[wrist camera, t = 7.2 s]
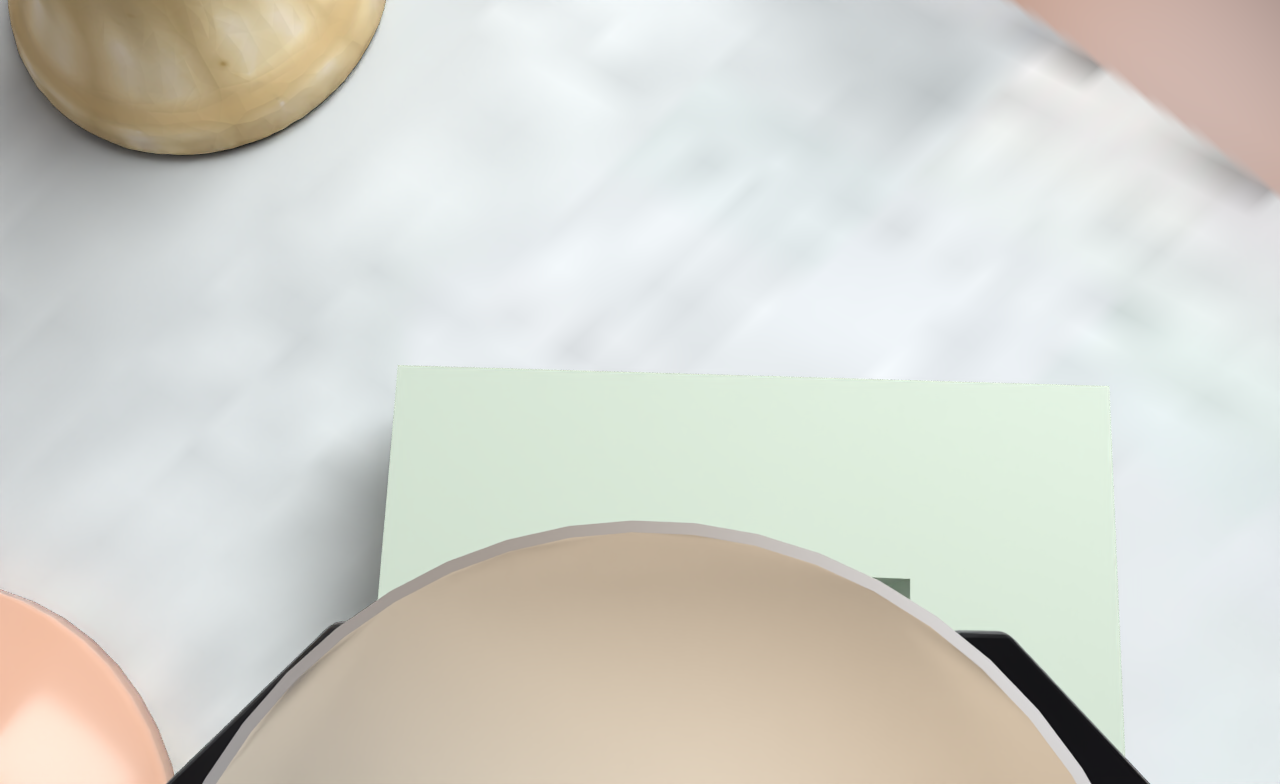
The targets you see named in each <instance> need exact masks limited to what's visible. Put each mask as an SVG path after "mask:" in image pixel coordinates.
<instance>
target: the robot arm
mask: <svg viewBox="0 0 1280 784" xmlns="http://www.w3.org/2000/svg"><path fill="white" fill-rule="evenodd" d="M345 622H346V621H340V622H336V623H334V624H333V625H331V626H329V627H328V628H327V629H326V630H325V631H323V632H322V633H321V634H320V635H319V636H318V637H317V638H316V639H315V640H314V641H313V642H312V643H311V644H310V645H309V646H308V647H307V648H306V649H305V650H304V651H303V652H302V653H301V654H300V655H299V656H298V657H297V658H296V659H294V660H293V661H292V662H291V663H290V664H289V665H288V666H287V667H286V668H285V669H284V670H283V671H282V672H281V673H280V674H279V675H278V676H277V677H276V678H275V679H274V680H273V681H272V682H271V683H270V684H269V685H268V686H267V687H265V688H264V689H263V690H262V691H261V692H260V693H259V694H258V695H257V696H256V697H255V698H254V699H253V700H252V701H251V702H250V703H249V704H248V705H247V706H246V707H245V708H244V709H243V710H242V711H241V712H240V713H239V714H238V715H236V716H235V717H234V718H233V719H232V720H231V721H230V722H229V723H228V724H227V725H226V726H225V727H224V728H223V729H222V730H221V731H220V732H219V733H218V734H217V735H216V736H215V737H214V738H213V739H212V740H211V741H210V742H209V743H208V744H206V745H205V746H204V747H203V748H202V749H201V750H200V751H199V752H198V753H197V754H196V755H195V756H194V757H193V758H192V759H191V760H190V761H189V762H188V763H187V764H186V765H185V766H184V767H183V768H182V769H181V770H180V771H179V772H177V773H176V774H175V775H174V776H173V777H172V778H171V779H170V780H169V781H168V782H167V783H166V784H203V782H204V780H205V778H206V777H207V775H208V774H209V772H210V771H211V770H212V768H213V767H214V765H215V764H216V762H217V761H218V759H219V758H220V756H221V755H222V753H223V752H224V750H225V749H226V747H227V746H228V744H229V743H230V742H231V740H232V739H233V737H234V736H235V734H236V733H237V731H238V730H239V728H240V727H241V725H242V724H243V723H244V721H245V720H246V719H247V718H248V717H249V716H250V715H251V713H252V712H253V711H254V710H255V709H256V708H257V707H258V705H259V704H260V703H261V702H262V701H263V700H264V699H265V697H266V696H267V695H268V694H269V693H270V692H271V690H272V689H273V688H274V687H275V686H276V685H277V684H278V682H279V681H280V680H281V679H282V678H283V677H284V676H285V674H286V673H287V672H288V671H289V670H291V669H292V668H293V667H294V666H295V665H296V664H297V663H298V662H299V661H301V660H302V659H303V658H304V657H305V656H306V655H307V654H308V653H310V652H311V651H312V650H313V649H314V648H315V647H316V646H317V645H318V644H320V643H321V642H322V641H323V640H324V639H325V638H326V637H327V636H328V635H330V634H331V633H332V632H333V631H334V630H335V629H336V628H338V627H339V626H341V625H342V624H343V623H345ZM955 632H957V633H958V634H959V635H960V636H962V637H963V638H964V639H965V640H966V641H968V642H969V643H970V644H971V645H973V646H974V647H975V648H976V649H977V650H979V651H980V652H981V653H982V654H984V655H985V656H986V657H987V658H989V659H990V660H991V661H992V662H993V663H994V664H995V665H996V666H997V667H998V668H999V670H1000V671H1001V672H1002V673H1003V674H1004V675H1005V676H1006V677H1007V678H1008V679H1009V680H1010V681H1011V682H1012V683H1013V684H1014V685H1015V686H1016V687H1017V688H1018V689H1019V690H1020V691H1021V692H1022V693H1023V695H1024V696H1025V697H1026V698H1027V699H1028V700H1029V701H1030V702H1031V703H1032V704H1033V705H1034V706H1035V707H1036V708H1037V709H1038V710H1039V711H1040V713H1041V714H1042V715H1043V717H1044V718H1045V719H1046V721H1047V722H1048V723H1049V725H1050V726H1051V727H1052V729H1053V730H1054V731H1055V733H1056V734H1057V735H1058V737H1059V738H1060V739H1061V741H1062V742H1063V743H1064V745H1065V746H1066V747H1067V749H1068V750H1069V751H1070V753H1071V754H1072V755H1073V757H1074V758H1075V759H1076V761H1077V762H1078V763H1079V765H1080V766H1081V767H1082V769H1083V771H1084V772H1085V774H1086V776H1087V778H1088V779H1089V781H1090V783H1091V784H1150V783H1149V782H1148V781H1147V780H1146V779H1145V778H1144V777H1143V776H1142V775H1141V774H1140V773H1139V772H1138V770H1137V769H1136V768H1135V767H1134V766H1133V765H1132V764H1131V763H1130V762H1129V761H1128V760H1127V759H1126V758H1125V757H1124V756H1123V754H1122V753H1121V752H1120V751H1119V750H1118V749H1117V748H1116V747H1115V746H1114V745H1113V744H1112V743H1111V742H1110V741H1109V740H1108V738H1107V737H1106V736H1105V735H1104V734H1103V733H1102V732H1101V731H1100V730H1099V729H1098V728H1097V727H1096V726H1095V725H1094V723H1093V722H1092V721H1091V720H1090V719H1089V718H1088V717H1087V716H1086V715H1085V714H1084V713H1083V712H1082V711H1081V710H1080V709H1079V707H1078V706H1077V705H1076V704H1075V703H1074V702H1073V701H1072V700H1071V699H1070V698H1069V697H1068V696H1067V695H1066V694H1065V693H1064V691H1063V690H1062V689H1061V688H1060V687H1059V686H1058V685H1057V684H1056V683H1055V682H1054V681H1053V680H1052V679H1051V678H1050V677H1049V675H1048V674H1047V673H1046V672H1045V671H1044V670H1043V669H1042V668H1041V667H1040V666H1039V665H1038V664H1037V663H1036V662H1035V661H1034V659H1033V658H1032V657H1031V656H1030V655H1029V654H1028V653H1027V652H1026V651H1025V650H1024V649H1023V648H1022V647H1021V646H1020V645H1019V643H1018V642H1017V641H1016V640H1015V639H1014V638H1013V637H1012V636H1010V635H1008V634H1007V633H1005V632H1002V631H982V630H957V631H955Z"/></svg>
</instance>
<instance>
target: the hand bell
mask: <svg viewBox="0 0 1280 784" xmlns="http://www.w3.org/2000/svg"><path fill="white" fill-rule="evenodd" d="M385 2H386V0H8V9H9V15H10V21H11V26H12V30H13V34H14V37H15V41H16V44H17V48H18V51H19V54H20V56H21V58H22V61H23V63H24V64H25V66H26V68H27V70H28V72H29V74H30V75H31V77H32V79H33V80H34V82H35V84H36V85H37V87H38V89H39V90H40V91H41V92H42V93H43V94H44V95H45V96H46V97H47V99H48V100H49V101H50V102H51V103H52V104H53V105H54V106H55V107H56V108H57V109H58V110H59V111H60V112H61V113H62V114H63V115H65V116H66V117H67V118H68V119H70V120H71V121H73V122H74V123H75V124H77V125H78V126H80V127H82V128H83V129H85V130H86V131H88V132H90V133H92V134H94V135H96V136H98V137H101V138H103V139H105V140H108V141H110V142H112V143H115V144H117V145H120V146H122V147H125V148H128V149H133V150H138V151H143V152H150V153H156V154H173V155H193V154H205V153H212V152H217V151H222V150H227V149H232V148H235V147H238V146H241V145H244V144H247V143H251V142H254V141H257V140H260V139H262V138H265V137H268V136H270V135H271V134H273V133H275V132H278V131H280V130H282V129H284V128H286V127H287V126H288V125H290V124H291V123H293V122H295V121H297V120H299V119H301V118H303V117H304V116H305V115H307V114H308V113H309V112H310V111H311V110H313V109H314V108H315V107H317V106H318V105H319V104H321V103H322V102H323V101H324V100H325V99H326V98H327V97H328V96H329V95H330V94H331V93H332V92H334V91H335V90H336V89H337V88H338V87H339V86H340V84H341V83H342V82H343V81H344V80H345V79H346V78H347V76H348V75H349V74H350V72H351V71H352V70H353V68H354V67H355V66H356V65H357V63H358V62H359V60H360V59H361V57H362V55H363V53H364V52H365V50H366V48H367V47H368V45H369V43H370V41H371V39H372V37H373V35H374V33H375V31H376V29H377V27H378V25H379V22H380V19H381V16H382V13H383V10H384V6H385Z"/></svg>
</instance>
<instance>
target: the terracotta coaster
mask: <svg viewBox="0 0 1280 784" xmlns="http://www.w3.org/2000/svg"><path fill="white" fill-rule="evenodd" d="M173 776H174V772H173V768H172V764H171V761H170V759H169V756H168V753H167V751H166V748H165V745H164V743H163V740H162V737H161V735H160V732H159V729H158V727H157V725H156V723H155V722H154V720H153V718H152V716H151V714H150V712H149V710H148V709H147V707H146V705H145V703H144V701H143V699H142V697H141V696H140V694H139V693H138V691H137V690H136V689H135V687H134V686H133V685H132V683H131V682H130V681H129V679H128V678H127V676H126V675H125V674H124V672H123V671H122V670H121V668H120V667H119V666H118V665H117V664H116V663H115V662H114V661H113V660H112V659H111V658H110V656H109V655H108V654H107V653H106V652H105V651H104V650H103V649H102V648H101V647H100V646H99V645H98V644H97V643H96V642H95V641H94V640H93V639H91V638H90V637H89V636H87V635H86V634H85V633H83V632H82V631H81V630H79V629H78V628H77V627H75V626H74V625H73V624H72V623H70V622H69V621H68V620H66V619H65V618H63V617H61V616H59V615H57V614H56V613H54V612H52V611H50V610H48V609H47V608H45V607H43V606H41V605H39V604H38V603H36V602H33V601H31V600H28V599H25V598H23V597H20V596H17V595H15V594H12V593H9V592H7V591H4V590H1V589H0V784H166V783H167V782H168V781H169V780H170V779H171V778H172V777H173Z"/></svg>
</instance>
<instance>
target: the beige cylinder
mask: <svg viewBox="0 0 1280 784" xmlns="http://www.w3.org/2000/svg"><path fill="white" fill-rule="evenodd" d="M203 784H1091V783H1090V781H1089V779H1088V778H1087V776H1086V774H1085V772H1084V771H1083V769H1082V767H1081V766H1080V765H1079V763H1078V762H1077V761H1076V759H1075V758H1074V757H1073V755H1072V754H1071V753H1070V751H1069V750H1068V749H1067V747H1066V746H1065V745H1064V743H1063V742H1062V741H1061V739H1060V738H1059V737H1058V735H1057V734H1056V733H1055V731H1054V730H1053V729H1052V727H1051V726H1050V725H1049V723H1048V722H1047V721H1046V719H1045V718H1044V717H1043V715H1042V714H1041V713H1040V711H1039V710H1038V709H1037V708H1036V707H1035V706H1034V705H1033V704H1032V703H1031V702H1030V701H1029V700H1028V699H1027V698H1026V697H1025V696H1024V695H1023V693H1022V692H1021V691H1020V690H1019V689H1018V688H1017V687H1016V686H1015V685H1014V684H1013V683H1012V682H1011V681H1010V680H1009V679H1008V678H1007V677H1006V676H1005V675H1004V674H1003V673H1002V672H1001V671H1000V670H999V668H998V667H997V666H996V665H995V664H994V663H993V662H992V661H991V660H990V659H989V658H987V657H986V656H985V655H984V654H982V653H981V652H980V651H979V650H977V649H976V648H975V647H974V646H973V645H971V644H970V643H969V642H968V641H966V640H965V639H964V638H963V637H962V636H960V635H959V634H958V633H957V632H955V631H954V630H953V629H952V628H950V627H949V626H948V625H947V624H946V623H944V622H943V621H942V620H941V619H939V618H938V617H937V616H935V615H934V614H932V613H930V612H929V611H927V610H926V609H924V608H922V607H921V606H919V605H918V604H916V603H914V602H913V601H911V600H910V599H908V598H906V597H905V596H903V595H902V594H900V593H898V592H897V591H895V590H894V589H892V588H890V587H889V586H887V585H886V584H884V583H882V582H881V581H879V580H877V579H875V578H872V577H870V576H868V575H866V574H864V573H862V572H859V571H857V570H855V569H853V568H851V567H848V566H846V565H844V564H842V563H840V562H838V561H835V560H833V559H831V558H829V557H827V556H825V555H822V554H820V553H817V552H814V551H811V550H807V549H804V548H801V547H798V546H795V545H791V544H788V543H785V542H782V541H779V540H775V539H772V538H769V537H766V536H763V535H759V534H755V533H749V532H743V531H737V530H732V529H726V528H720V527H715V526H709V525H703V524H697V523H681V522H657V521H633V520H631V521H620V522H608V523H597V524H586V525H575V526H567V527H562V528H558V529H553V530H549V531H544V532H540V533H535V534H531V535H526V536H522V537H517V538H513V539H508V540H505V541H502V542H500V543H497V544H494V545H491V546H489V547H486V548H483V549H480V550H478V551H475V552H472V553H469V554H467V555H464V556H461V557H459V558H456V559H453V560H450V561H448V562H445V563H444V564H442V565H440V566H438V567H436V568H434V569H432V570H430V571H428V572H426V573H424V574H422V575H420V576H418V577H417V578H415V579H413V580H411V581H409V582H407V583H405V584H403V585H401V586H399V587H397V588H395V589H393V590H392V591H390V592H388V593H387V594H385V595H384V596H382V597H381V598H380V599H378V600H377V601H375V602H374V603H372V604H371V605H369V606H368V607H367V608H365V609H364V610H362V611H361V612H359V613H358V614H356V615H355V616H354V617H352V618H351V619H349V620H348V621H346V622H345V623H343V624H342V625H341V626H339V627H338V628H336V629H335V630H334V631H333V632H332V633H331V634H330V635H328V636H327V637H326V638H325V639H324V640H323V641H322V642H321V643H320V644H318V645H317V646H316V647H315V648H314V649H313V650H312V651H311V652H310V653H308V654H307V655H306V656H305V657H304V658H303V659H302V660H301V661H299V662H298V663H297V664H296V665H295V666H294V667H293V668H292V669H291V670H289V671H288V672H287V673H286V674H285V676H284V677H283V678H282V679H281V680H280V681H279V682H278V684H277V685H276V686H275V687H274V688H273V689H272V690H271V692H270V693H269V694H268V695H267V696H266V697H265V699H264V700H263V701H262V702H261V703H260V704H259V705H258V707H257V708H256V709H255V710H254V711H253V712H252V713H251V715H250V716H249V717H248V718H247V719H246V720H245V721H244V723H243V724H242V725H241V727H240V728H239V730H238V731H237V733H236V734H235V736H234V737H233V739H232V740H231V742H230V743H229V744H228V746H227V747H226V749H225V750H224V752H223V753H222V755H221V756H220V758H219V759H218V761H217V762H216V764H215V765H214V767H213V768H212V770H211V771H210V772H209V774H208V775H207V777H206V778H205V780H204V782H203Z"/></svg>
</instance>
